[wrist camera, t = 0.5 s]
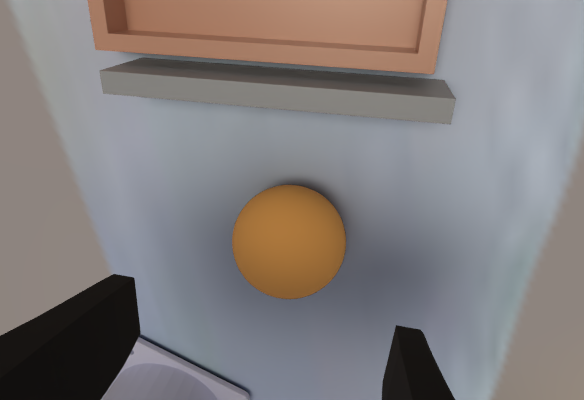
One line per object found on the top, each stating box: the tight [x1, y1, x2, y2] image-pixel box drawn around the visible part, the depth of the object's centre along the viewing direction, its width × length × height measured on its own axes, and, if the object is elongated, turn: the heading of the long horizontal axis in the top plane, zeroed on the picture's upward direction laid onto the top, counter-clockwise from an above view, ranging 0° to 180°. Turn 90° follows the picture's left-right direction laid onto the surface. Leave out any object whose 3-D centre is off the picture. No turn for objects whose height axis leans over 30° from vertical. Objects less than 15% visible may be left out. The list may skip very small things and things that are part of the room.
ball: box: [232, 185, 346, 299], centre depth 18 cm, size 5×5×5 cm
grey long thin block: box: [100, 58, 456, 124], centre depth 16 cm, size 1×12×3 cm, turn 88°
